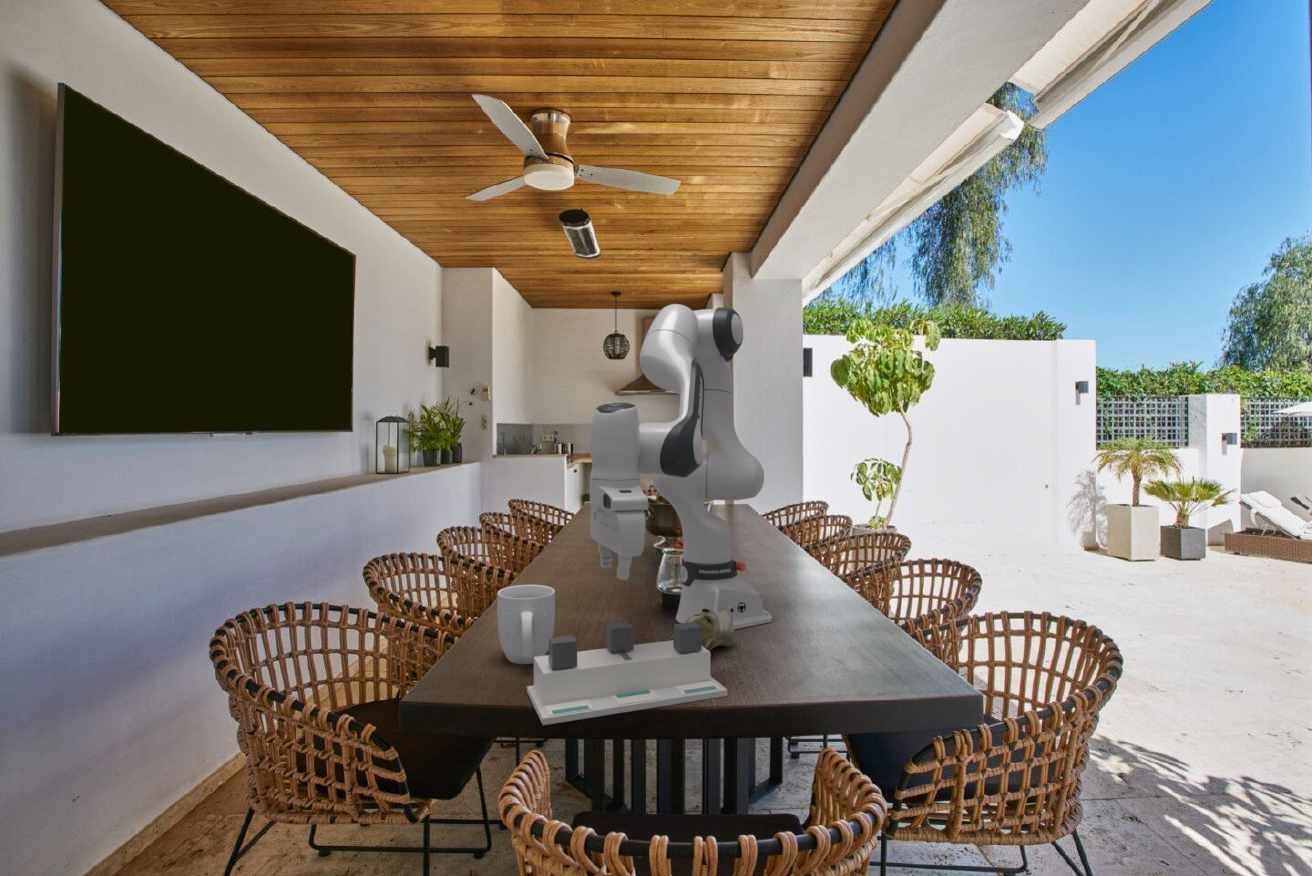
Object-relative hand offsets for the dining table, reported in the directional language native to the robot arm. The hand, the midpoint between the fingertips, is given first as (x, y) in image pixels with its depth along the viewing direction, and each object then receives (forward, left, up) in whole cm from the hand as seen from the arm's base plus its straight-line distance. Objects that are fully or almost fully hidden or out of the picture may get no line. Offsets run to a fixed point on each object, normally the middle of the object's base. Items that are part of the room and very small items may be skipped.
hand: (614, 573), depth 115 cm
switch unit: (0, +7, -19) cm, 20 cm away
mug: (+13, -15, -19) cm, 27 cm away
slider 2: (-11, +7, -13) cm, 18 cm away
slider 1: (+11, +7, -13) cm, 18 cm away
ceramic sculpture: (-22, -9, -19) cm, 30 cm away
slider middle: (0, +3, -13) cm, 13 cm away
